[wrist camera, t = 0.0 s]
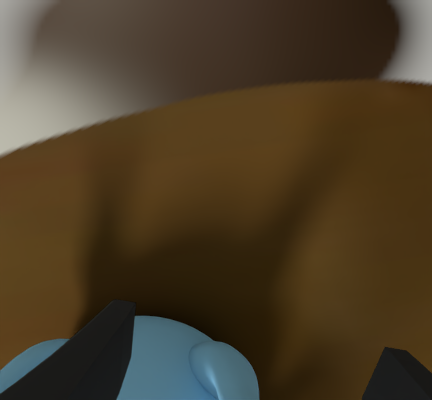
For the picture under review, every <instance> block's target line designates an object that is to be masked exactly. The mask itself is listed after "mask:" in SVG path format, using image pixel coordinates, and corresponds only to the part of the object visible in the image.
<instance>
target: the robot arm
mask: <svg viewBox="0 0 432 400" xmlns="http://www.w3.org/2000/svg"><path fill="white" fill-rule="evenodd" d="M135 308H136V303H134V302H128V301H123V300H117V299H115V300H113V301H111V302H110V303H109V304H108V305H107V306H106V307H105V308H104V309H103V310H102V311H101V312H100V313H99V314H97V315H96V316H95V317H94V318H93V319H92V320H91V321H90V322H89V323H88V324H86V325H85V326H84V327H83V328H82V329H81V330H80V331H79V332H78V333H76V334H75V335H74V336H73V337H72V338H70V339H69V340H68V341H67V342H66V343H65V344H63V345H62V346H61V347H60V348H59V349H57V350H56V351H55V352H54V353H53V354H51V355H50V356H49V357H48V358H46V359H45V360H44V361H43V362H41V363H40V364H39V365H37V366H36V367H35V368H34V369H32V370H31V371H30V372H28V373H27V374H26V375H25V376H23V377H22V378H21V379H19V380H18V381H17V382H15V383H14V384H13V385H11V386H10V387H8V388H7V389H6V390H4V391H3V392H2V393H0V400H117V397H118V395H119V393H120V390H121V387H122V384H123V381H124V378H125V375H126V372H127V369H128V366H129V362H130V359H131V355H132V343H133V331H134V320H135ZM362 400H432V373H431V372H430V371H428V370H427V369H426V368H425V367H424V366H423V365H422V364H421V363H420V362H419V361H418V360H417V359H415V358H414V357H413V356H412V355H411V354H410V353H409V352H407V351H405V350H400V349H394V348H389V347H385V348H384V350H383V353H382V355H381V357H380V359H379V361H378V364H377V366H376V368H375V370H374V372H373V375H372V377H371V379H370V381H369V383H368V386H367V388H366V390H365V392H364V394H363V397H362Z"/></svg>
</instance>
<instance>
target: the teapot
mask: <svg viewBox="0 0 432 400" xmlns="http://www.w3.org/2000/svg"><path fill="white" fill-rule="evenodd" d="M68 340H69V339H55V340H49V341H44V342H41V343H39V344H37V345H34V346H32V347H30V348H28V349H27V350H25V351H24V352H22V353H21V354H20V355H18V356H17V357H15V358H14V359H13V360H12V361H11V362H9V363H8V364H7V365H6V366H5V367H4V368H3V369H2V370H1V371H0V393H2V392H3V391H4V390H6V389H7V388H8V387H10V386H11V385H13V384H14V383H15V382H17V381H18V380H19V379H21V378H22V377H23V376H25V375H26V374H27V373H28V372H30V371H31V370H32V369H34V368H35V367H36V366H37V365H39V364H40V363H41V362H43V361H44V360H45V359H46V358H48V357H49V356H50V355H51V354H53V353H54V352H55V351H56V350H57V349H59V348H60V347H61V346H62V345H63V344H65V343H66V342H67V341H68ZM117 400H259V388H258V381H257V377H256V375H255V372H254V370H253V368H252V366H251V364H250V363H249V362H248V360H247V359H246V358H245V357H244V356H243V355H242V354H241V353H240V352H239V351H237V350H236V349H235V348H233V347H232V346H230V345H228V344H226V343H223V342H217V341H213V340H212V339H211V338H210V337H208V336H207V335H205V334H204V333H202V332H200V331H199V330H197V329H195V328H193V327H191V326H188V325H186V324H184V323H181V322H178V321H175V320H172V319H167V318H162V317H156V316H135V320H134V331H133V343H132V355H131V359H130V362H129V366H128V369H127V372H126V375H125V378H124V381H123V384H122V387H121V390H120V393H119V395H118V397H117Z"/></svg>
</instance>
